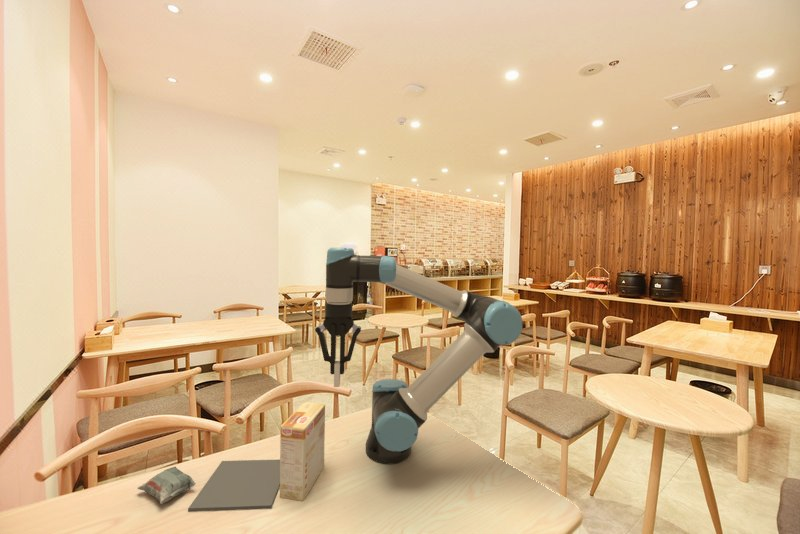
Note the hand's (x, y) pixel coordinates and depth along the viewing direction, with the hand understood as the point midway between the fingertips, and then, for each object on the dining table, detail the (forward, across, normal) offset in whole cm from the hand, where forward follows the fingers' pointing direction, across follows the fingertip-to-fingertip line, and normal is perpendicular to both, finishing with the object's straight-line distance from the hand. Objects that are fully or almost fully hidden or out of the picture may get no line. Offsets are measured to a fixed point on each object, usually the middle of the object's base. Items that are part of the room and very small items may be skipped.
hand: (337, 385), depth 95 cm
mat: (+28, +25, 0) cm, 37 cm away
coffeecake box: (+28, +9, 0) cm, 29 cm away
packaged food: (+28, +44, +3) cm, 52 cm away
